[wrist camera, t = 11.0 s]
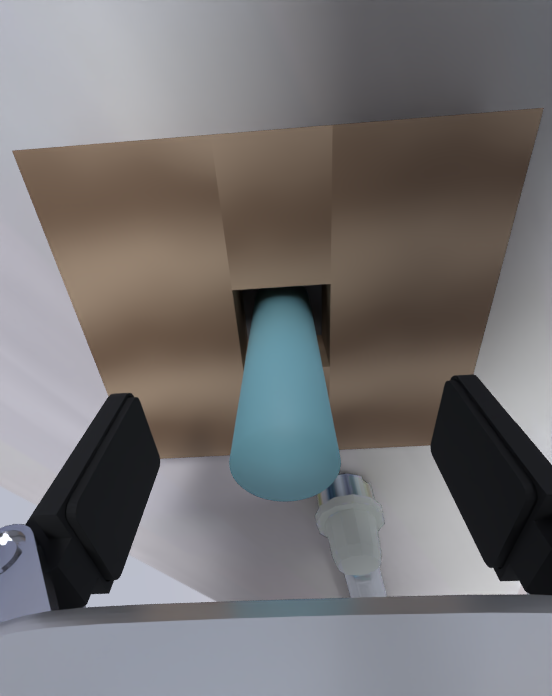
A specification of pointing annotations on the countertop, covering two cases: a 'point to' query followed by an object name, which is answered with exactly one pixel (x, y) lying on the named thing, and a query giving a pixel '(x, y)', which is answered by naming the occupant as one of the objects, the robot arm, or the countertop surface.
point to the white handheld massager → (353, 533)
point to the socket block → (287, 261)
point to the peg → (284, 404)
